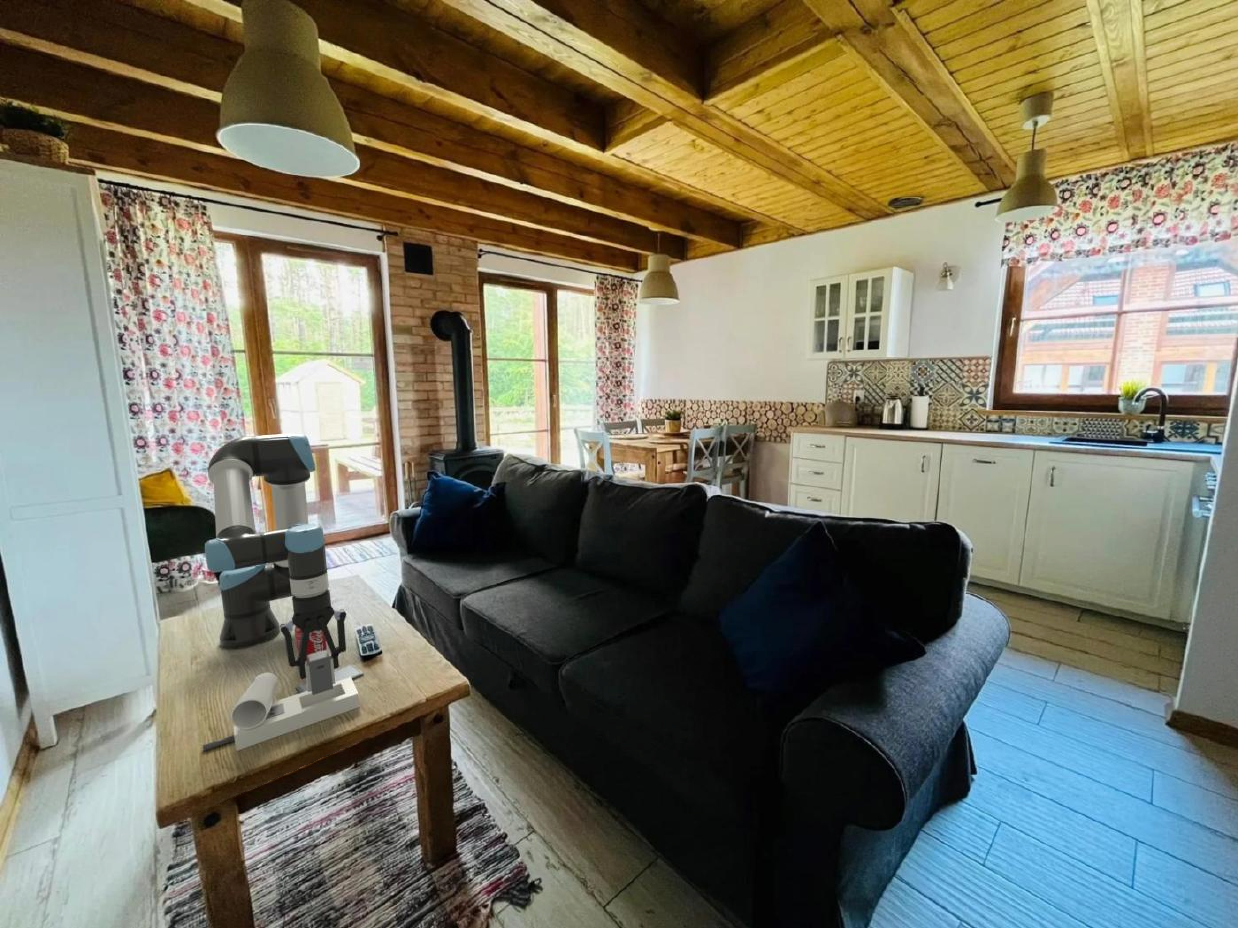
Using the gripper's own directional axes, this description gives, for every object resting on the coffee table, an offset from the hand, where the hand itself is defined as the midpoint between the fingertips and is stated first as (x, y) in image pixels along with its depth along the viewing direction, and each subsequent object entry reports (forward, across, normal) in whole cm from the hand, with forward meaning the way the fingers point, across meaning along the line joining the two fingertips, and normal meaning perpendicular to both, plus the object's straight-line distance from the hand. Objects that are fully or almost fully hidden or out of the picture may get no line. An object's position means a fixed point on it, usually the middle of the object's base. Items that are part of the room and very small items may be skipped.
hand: (321, 685), depth 121 cm
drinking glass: (0, -10, +10) cm, 14 cm away
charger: (0, 0, 0) cm, 1 cm away
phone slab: (+7, +3, +12) cm, 15 cm away
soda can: (+6, +1, +26) cm, 27 cm away
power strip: (+6, -8, 0) cm, 10 cm away
